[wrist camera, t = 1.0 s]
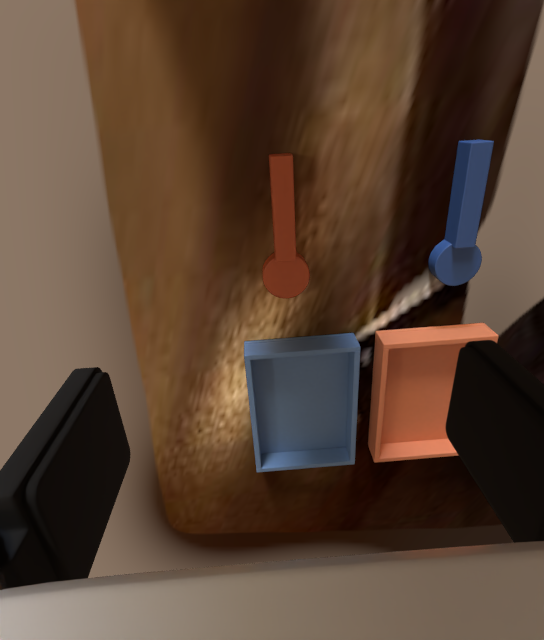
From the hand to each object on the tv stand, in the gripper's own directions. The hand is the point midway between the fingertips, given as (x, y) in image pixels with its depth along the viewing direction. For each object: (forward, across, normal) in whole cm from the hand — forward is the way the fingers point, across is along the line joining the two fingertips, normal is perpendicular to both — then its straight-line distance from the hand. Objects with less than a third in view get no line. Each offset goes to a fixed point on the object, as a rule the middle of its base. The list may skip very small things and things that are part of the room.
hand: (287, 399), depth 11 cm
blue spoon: (+23, -16, +1) cm, 27 cm away
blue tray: (+23, -3, +18) cm, 29 cm away
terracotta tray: (+23, -15, +18) cm, 32 cm away
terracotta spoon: (+23, -2, +1) cm, 23 cm away
